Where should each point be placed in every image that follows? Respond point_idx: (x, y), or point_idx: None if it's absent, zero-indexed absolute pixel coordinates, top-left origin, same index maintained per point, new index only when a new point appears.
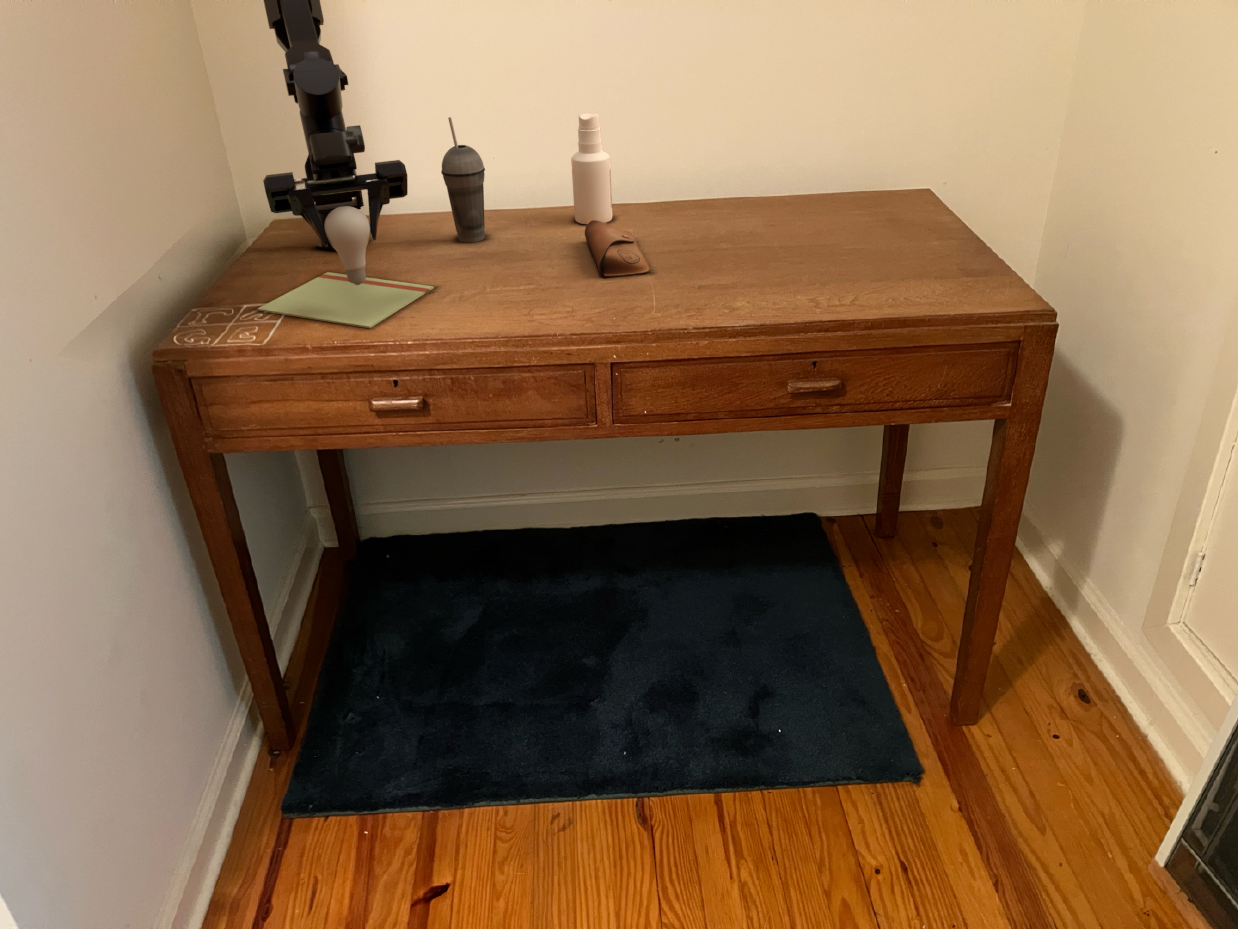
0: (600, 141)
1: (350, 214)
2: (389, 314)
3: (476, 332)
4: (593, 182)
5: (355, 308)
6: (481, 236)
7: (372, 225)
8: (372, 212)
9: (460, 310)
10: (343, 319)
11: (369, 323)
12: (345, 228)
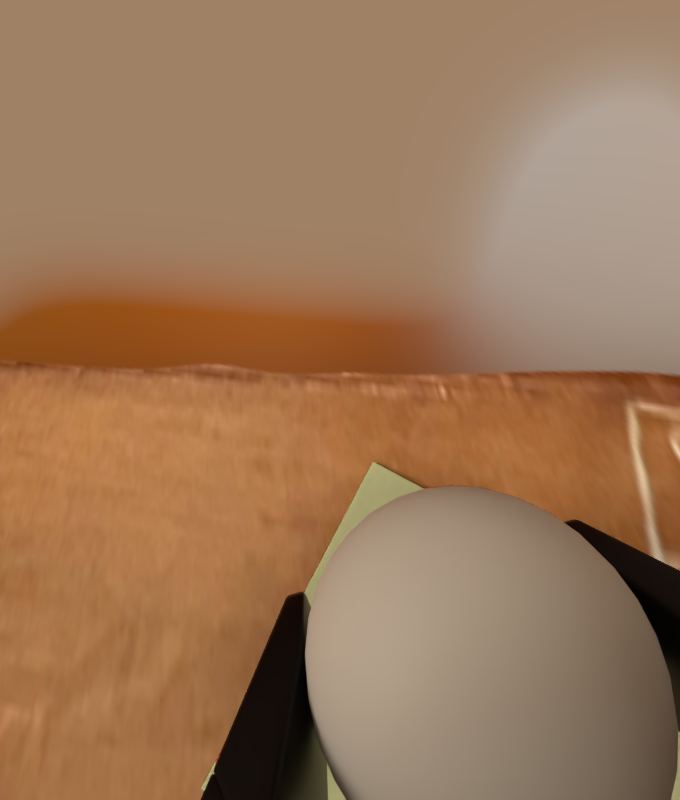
0: None
1: (419, 576)
2: (330, 544)
3: (121, 399)
4: None
5: None
6: None
7: (285, 647)
8: (254, 765)
9: (140, 548)
10: None
11: (376, 481)
12: (444, 492)
